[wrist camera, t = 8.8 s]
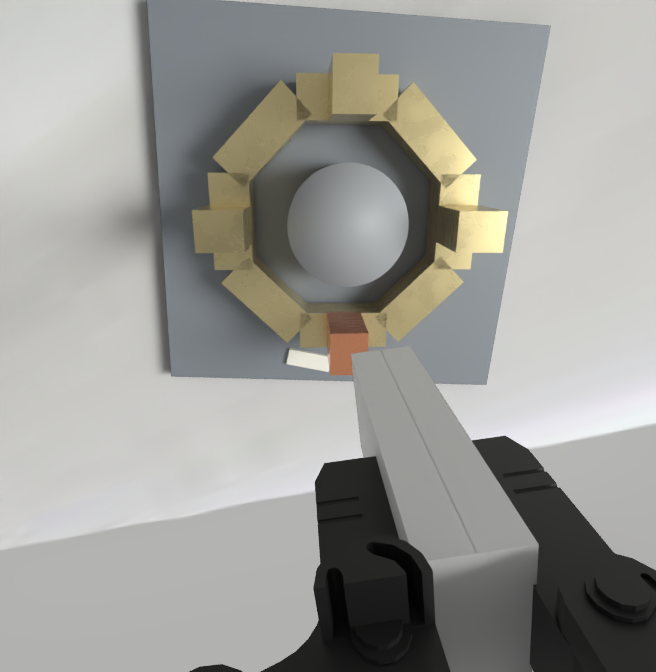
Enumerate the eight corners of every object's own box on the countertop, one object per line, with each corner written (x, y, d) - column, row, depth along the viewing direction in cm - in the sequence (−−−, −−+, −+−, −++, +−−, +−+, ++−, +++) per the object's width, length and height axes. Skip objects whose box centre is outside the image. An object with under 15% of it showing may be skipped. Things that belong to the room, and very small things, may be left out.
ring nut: (206, 77, 28) (177, 50, 22) (478, 81, 29) (528, 56, 23) (225, 337, 34) (206, 377, 27) (452, 335, 35) (487, 373, 28)
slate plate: (174, 370, 36) (150, 408, 30) (151, 0, 28) (113, -43, 22) (481, 379, 37) (513, 416, 32) (543, 30, 29) (599, -3, 24)
